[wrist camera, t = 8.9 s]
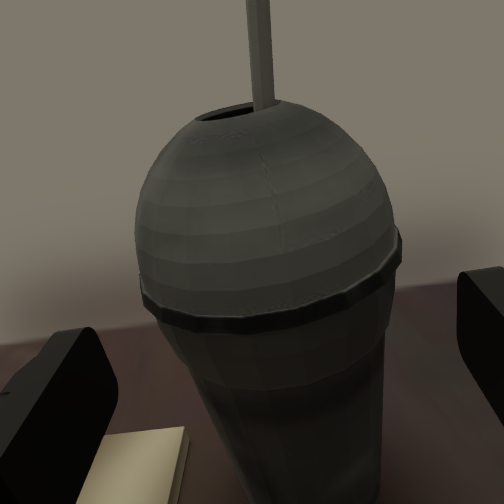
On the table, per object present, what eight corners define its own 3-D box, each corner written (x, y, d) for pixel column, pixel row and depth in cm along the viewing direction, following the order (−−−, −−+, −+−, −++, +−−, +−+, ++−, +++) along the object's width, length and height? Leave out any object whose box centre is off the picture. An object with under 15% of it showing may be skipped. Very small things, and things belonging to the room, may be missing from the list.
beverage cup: (245, 433, 21) (107, -50, 12) (401, 432, 19) (365, -125, 11) (209, 610, 15) (-124, -132, 6) (437, 630, 13) (419, -346, 4)
